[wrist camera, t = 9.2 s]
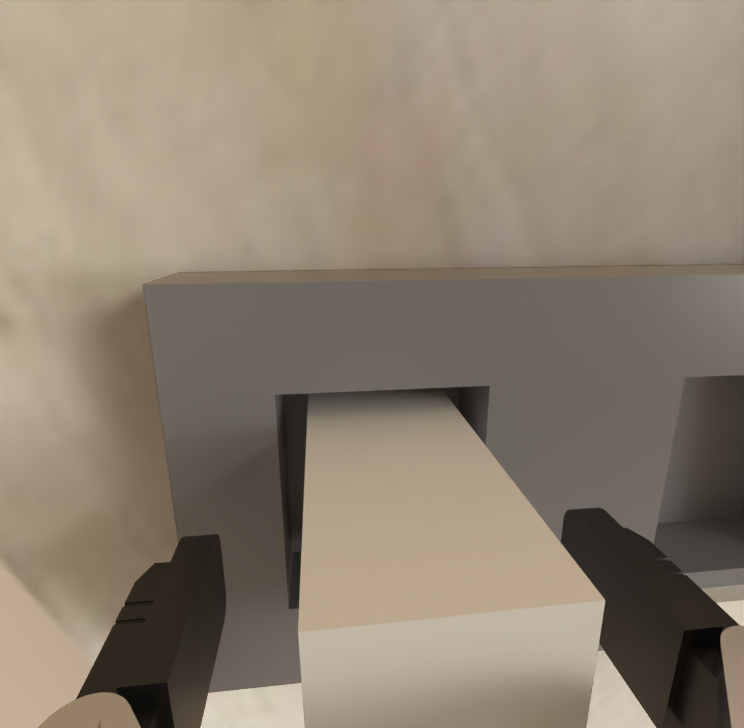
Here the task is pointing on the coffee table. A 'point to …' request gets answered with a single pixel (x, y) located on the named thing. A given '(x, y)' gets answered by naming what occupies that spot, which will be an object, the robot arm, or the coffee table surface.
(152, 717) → the robot arm
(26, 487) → the coffee table surface
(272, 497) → the tabletop socket
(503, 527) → the plug
